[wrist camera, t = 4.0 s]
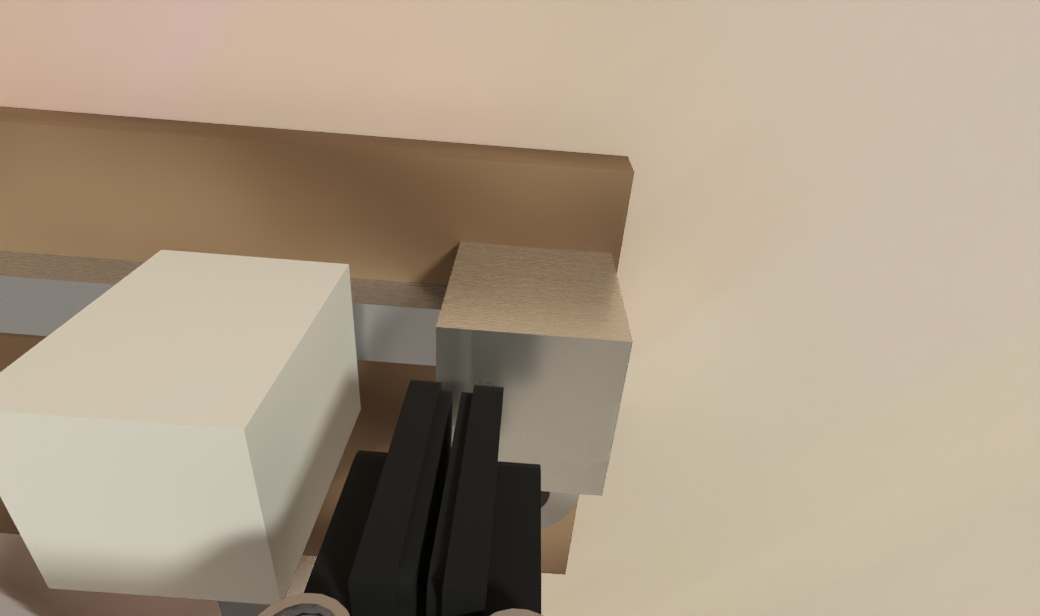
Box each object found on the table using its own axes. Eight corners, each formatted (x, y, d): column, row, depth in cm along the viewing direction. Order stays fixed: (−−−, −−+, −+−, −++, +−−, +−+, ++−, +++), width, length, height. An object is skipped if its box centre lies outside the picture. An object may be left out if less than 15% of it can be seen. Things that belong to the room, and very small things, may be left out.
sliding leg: (379, 498, 18) (309, 733, 12) (246, 488, 18) (117, 719, 12) (362, 243, 14) (243, 430, 8) (187, 229, 14) (-46, 407, 8)
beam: (571, 500, 18) (577, 616, 15) (-41, 454, 18) (-168, 562, 15) (611, 253, 14) (632, 341, 11) (-185, 191, 14) (-407, 261, 11)
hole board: (564, 544, 21) (565, 579, 20) (1, 502, 21) (-32, 535, 20) (627, 156, 14) (635, 174, 13) (-219, 89, 14) (-290, 101, 13)
